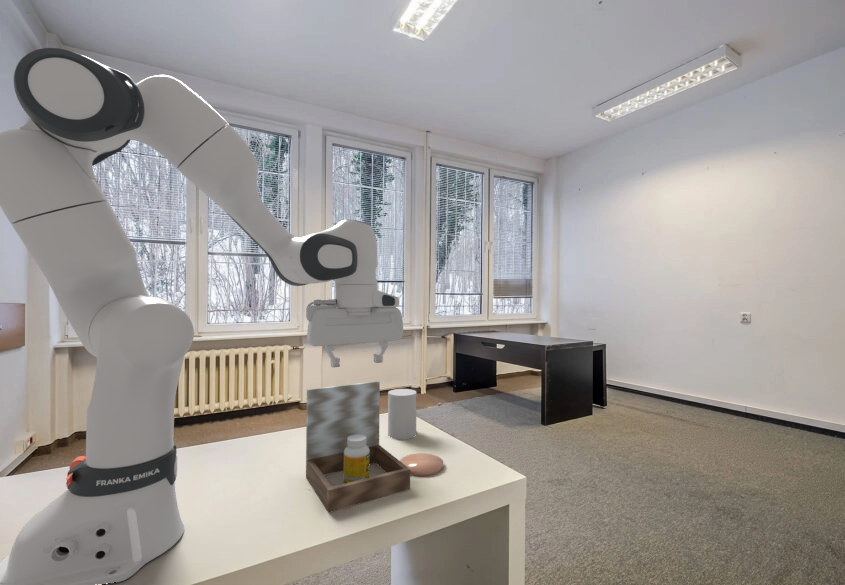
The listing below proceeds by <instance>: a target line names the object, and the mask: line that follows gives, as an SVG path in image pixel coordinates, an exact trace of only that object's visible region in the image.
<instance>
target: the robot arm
mask: <svg viewBox="0 0 845 585" xmlns="http://www.w3.org/2000/svg"><path fill="white" fill-rule="evenodd" d="M13 88H14V92H15V95H16V98H17V101H18V102H19V105H20V107H21V108H22V109H23V110H24V113H26V114H27V116H28V117H29V118H28V120H27V121H26V123H25V124H24V125H22V126H20V127H19V128H14V129H9V130H8V129H7V130H4V131H1V132H0V208H1V210H2V212H3V213H4V215H5V217H6V218H7V219H8V222H9V224H10V225H11V226H12V227H13V230H14V231H15V232H16V234H17V236H18V237H19V238H20V240H21V241H22V243H23V245H24V246H25V248H26V250H27V251H28V253H29V254H30V256H31V257H32V258H33V260H34V261H35V263H36V265H37V266H38V268H39V269H40V271H41V272H42V274H43V276H44V277H45V279H46V280H47V282H48V284H49V286H50V288H51V290H52V291H53V294H54V295H55V298H56V299H57V302H58V303H59V305H60V307H61V309H62V311H63V312H64V316H66V319H67V320H68V322H69V323H70V325H71V327H72V329H73V331H74V332H75V334H76V336H77V338H78V339H79V341H80V342H81V344H82V346H83V347H84V349H85V350H86V351H87V352H88V353H89V354H91V355H92V356H93V357H95V358H96V369H95V376H94V382H93V388H92V393H91V397H90V401H89V404H88V406H87V408H86V427H85V428H86V433H85V435H86V436H85V438H86V439H85V455H81V456H76V458H74V460H72V461H71V463H70V465H69V470H68V471H67V474H66V476H67V477H66V479H65V480H66V482H65V485H66V488H67V490H65V491H64V492H63V493H62V494H60V495H59V496H58V497H56V498H55V499H54V500H52V501H51V502H50V503H49V504H47V505H46V506H44V507H43V508H42V509H40V510H38V512H37V513H35V514H34V515H33V516H32V517H31V518H29V520H28V521H27V522H26V523H25V524H24V526H22V528H21V530H20V531H18V532H19V533H18V534H17V535H16V537H15V540H14V542H13V545H12V547H11V550H10V553H9V554H8V555H6V557H4V559H2V560H1V561H0V585H95V584H97V585H98V584H106V583H111V584H115V583H114V582H116V583H120V582H123V581H125V580H127V579H129V578H131V577H132V576H133V575H134V574H136V573H137V572H138V571H139V570H140V569H141V568H143V566H145V565H146V564H147V563H149V562H150V561H153V560H154V559H156V558H157V557H159V556H161V555H162V554H164V553H165V552H167V551H168V550H169V549H171V548H172V547H173V546H174V545H176V543H178V541H180V539H181V538H182V537H183V534H184V532H185V526H184V523H183V520H182V516H181V514H180V509H179V505H178V500H177V492H176V483H175V482H176V480H177V476H178V452H177V445H176V444H175V443H174V442H175V441H174V438H175V436H174V435H175V433H174V431H175V430H174V429H175V427H174V426H175V400H176V395H177V394H176V393H177V389H178V384H179V380H180V376H181V373H182V369H183V368H182V367H183V363H184V359H185V355H186V354H187V353H189V351H190V348H191V346H192V344H193V342H194V334H195V330H194V325H193V322H192V320H191V318H190V317H189V315H188V314H187V313H186V312H185V310H183V309H181V308H180V307H179V306H177V305H176V304H174V303H172V302H171V301H169V300H167V299H165V298H161V297H157V296H155V297H154V296H150V295H149V293H148V290H147V288H146V286H145V283H144V280H143V278H142V273H141V272H140V268H139V266H138V265H139V264H138V262H137V252H136V249H135V247H134V245H133V243H132V242H131V240H130V238H129V237H128V234H127V233H126V231H125V229H124V227H123V226H122V223H121V222H120V220H119V218H118V216H117V214H116V213H115V211H114V209H113V208H112V205H111V204H110V202H109V200H108V198H107V196H106V195H105V193H104V191H103V190H102V188H101V186H100V184H99V182H98V180H97V178H96V175H95V172H94V170H93V166H96V165H97V164H100V162H103V161H104V160H106V159H108V158H111V156H112V157H113V156H114V155H116V154H117V153H119V152H121V151H122V150H124V149H125V147H127V146H128V145H129V143H130V142H131V141H135V142H139V143H142V144H145V145H147V146H149V147H150V148H152V149H154V150H155V151H156V152H157V153H159V154H160V155H161V156H163V158H165V159H166V161H168V162H169V163H170V164H171V165H172V166H173V167H174V168H175V169H177V171H179V172H180V173H181V174H182V175H183V176H184V177H185V178H186V179H187V180H188V181H189V182H191V184H193V185H195V187H197V188H198V189H199V190H200V191H201V192H203V193H204V194H205V195H206V196H207V197H209V198H210V199H211V200H212V201H213V202H214V203H215V204H216V205H217V206H218V207H220V209H222V210H223V211H224V213H226V214H227V215H228V216H229V217H230V219H231V220H232V221H233V222H234V223H236V225H237V226H239V227H240V229H241V230H243V232H244V233H246V235H247V236H249V238H250V239H251V240H252V241H253V242H254V243H255V244H256V245H257V246H258V247H259V248H260V249H261V250H262V251H263V252H264V253H265V255H266V257H267V258H268V259H269V261H270V264H271V265H272V268H273V270H274V272H275V274H276V275H277V276H278V277H279V279H280V280H281V281H282V282H284V283H285V284H288V285H290V286H295V287H301V286H302V287H303V286H307V285H311V284H319V283H320V284H321V283H328V282H331V281H334V284H335V285H334V286H335V291H334V292H335V295H334V297H335V298H333V299H331V298H330V299H329V298H328V299H315V300H313V301H312V302H310V303H308V304H307V306H306V310H305V311H306V313H305V314H306V315H305V316H306V320H307V321H308V324H307V331H306V332H307V333H306V340H307V341H306V342H307V343H308V344H309V345H310V346H312V347H324V351H325V353H326V354H327V356H328V357H329V359H330V367H331V368H339V367H340V366H341V363H340V362H341V359H340V357H336V356H335V355H334V351H335V346H340V345H353V344H365V343H366V344H367V343H368V344H369V343H377V345H378V346H379V348H378V351H377V353H373V362H374V363H375V364H380V363H383V362H384V354H385V352H386V351H387V349H388V345H389V344H388V343H389V342H392V341H393V342H394V341H396V342H397V341H400V340H401V339H402V338H403V336H404V322H403V314H402V312H401V310H400V308H398V307H399V306H400V298H399V297H398V296H396V295H392V294H389V293H387V292H383V291H380V290H378V287H379V286H378V285H379V283H378V279H377V277H376V276H377V275H376V274H377V268H378V244H377V238H376V234H375V230H374V228H373V227H372V226H371V225H369V223H367V222H364V221H361V220H356V219H355V220H354V219H343V220H341V221H340V220H339V222H338V223H337V224H335V225H333V226H331V227H329V228H327V229H324V230H320V231H317V232H315V233H310V234H307V235H304V236H301V237H299V236H297V235H294V234H293V233H291V232H289V231H288V230H287V229H286V227H285V226H284V225H283V224H282V223H281V222H280V221H279V220H278V219H277V217H275V215H273V213H272V212H271V211H270V210H269V208H267V207H266V205H265V204H264V202H263V201H262V199H261V197H260V194H259V189H258V179H259V178H258V177H259V166H258V165H259V164H258V161H257V158H256V156H255V154H254V152H252V150H251V148H250V147H249V146H248V144H247V142H246V141H245V140H244V138H243V137H241V135H240V134H239V133H238V132H237V130H235V128H233V126H231V125H230V124H229V122H227V120H226V119H225V118H224V117H223V116H222V115H221V114H220V113H219V112H218V111H216V109H214V108H213V107H212V106H211V105H210V104H209V103H208V102H207V101H206V100H204V99H203V98H202V96H199V94H198V93H196V92H195V91H193V90H192V89H191V88H190V87H189V86H187V85H186V84H185V83H184V82H182V81H181V80H179V79H177V78H175V77H173V76H171V75H166V74H159V75H158V74H157V75H153V76H149V77H145V79H142V80H140V81H139V82H137V83H136V82H135V81H134V79H133V78H132V77H131V76H130V75H128V74H127V73H125V72H122V71H120V70H117V69H115V68H112V67H110V66H107V65H105V64H102V63H101V62H99V61H96V60H94V59H92V58H91V57H87V56H86V55H83V54H81V53H78V52H75V51H72V50H69V49H64V48H59V47H44V48H43V47H42V48H37V49H36V50H33V51H30V52H28V53H26V54H25V55H24V56H23V57H22V58H21V59H20V60H19V61H18V63H17V65H16V66H15V69H14V73H13ZM106 585H107V584H106Z"/></svg>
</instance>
